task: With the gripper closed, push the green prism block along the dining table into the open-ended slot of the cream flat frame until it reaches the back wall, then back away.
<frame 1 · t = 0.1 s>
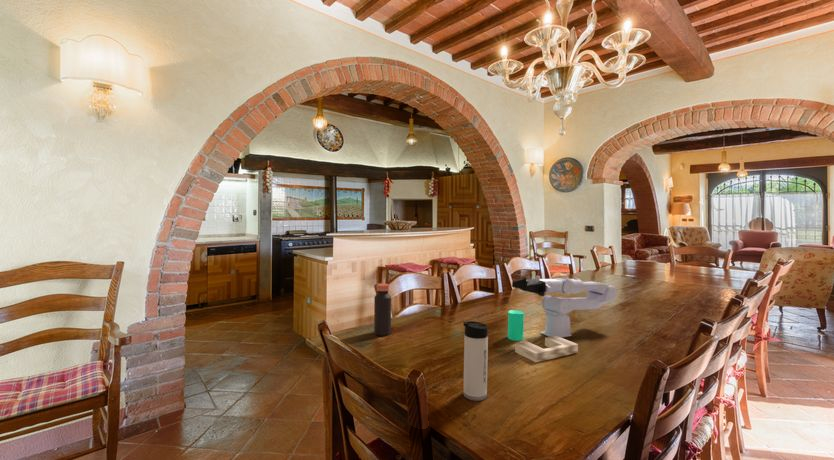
hand: (519, 286, 137), 22 cm above the table, tool horizontal, fingers open, 7 cm apart
green prism block: (515, 338, 142), on the table
bottle: (382, 333, 146), on the table
travel mug: (474, 395, 97), on the table
cream flat frame: (546, 352, 128), on the table
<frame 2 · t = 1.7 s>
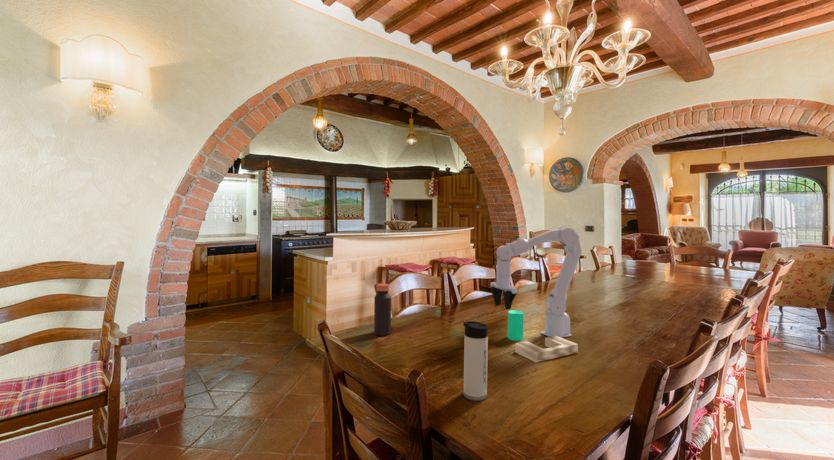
hand: (502, 307, 149), 10 cm above the table, tool pointing down, fingers open, 6 cm apart
nothing on the table moved.
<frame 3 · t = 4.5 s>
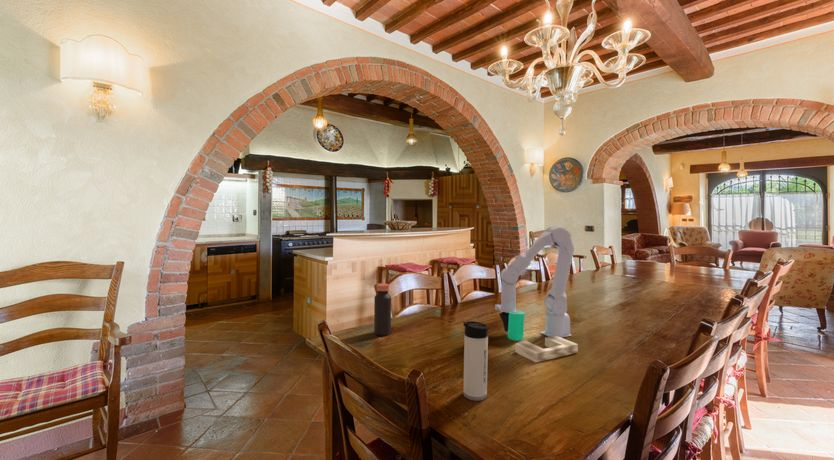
hand: (507, 330, 146), 1 cm above the table, tool pointing down, fingers closed
green prism block: (515, 338, 142), on the table, touching gripper
everything else where it was.
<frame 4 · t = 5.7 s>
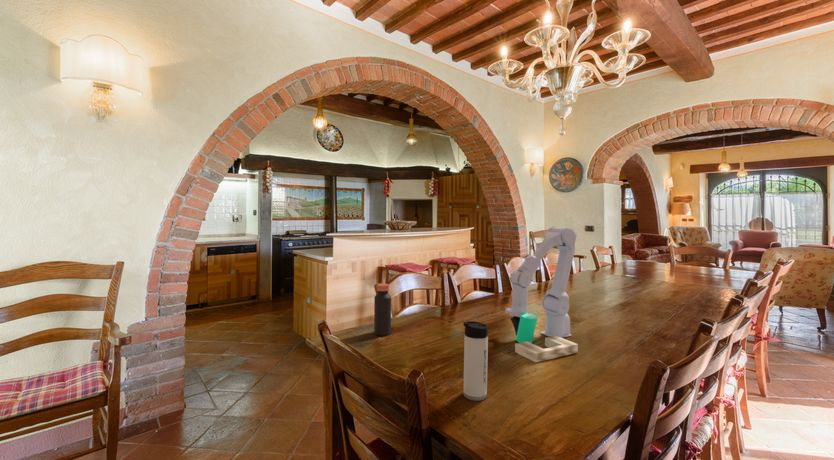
hand: (518, 335, 140), 1 cm above the table, tool pointing down, fingers closed
green prism block: (523, 341, 137), on the table, touching gripper
everything else where it was.
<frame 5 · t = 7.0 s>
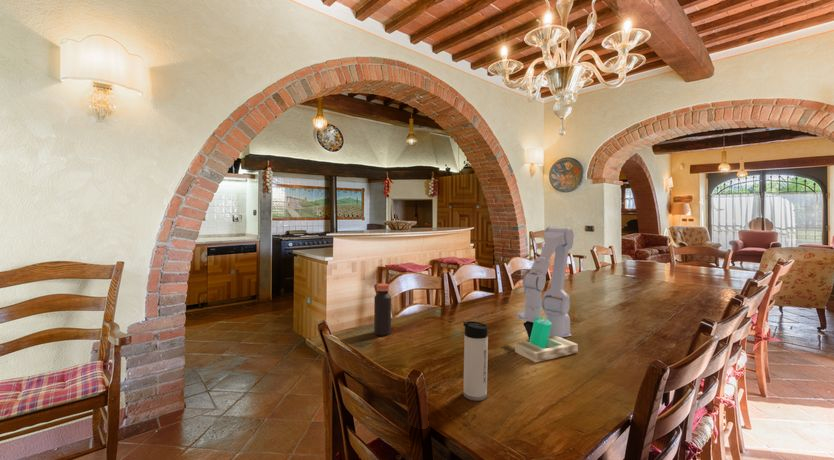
hand: (532, 341, 134), 1 cm above the table, tool pointing down, fingers closed, pressing on green prism block
green prism block: (536, 347, 131), on the table, touching gripper
everything else where it was.
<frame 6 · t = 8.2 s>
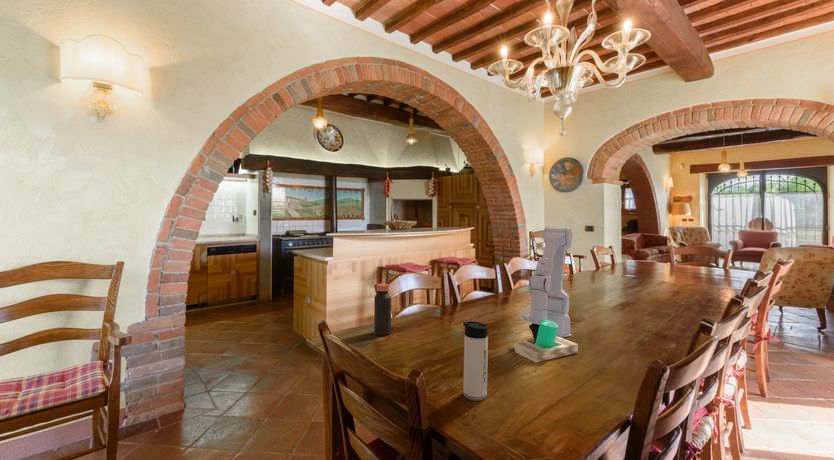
hand: (537, 344, 131), 1 cm above the table, tool pointing down, fingers closed
green prism block: (543, 350, 128), on the table, touching gripper
everything else where it was.
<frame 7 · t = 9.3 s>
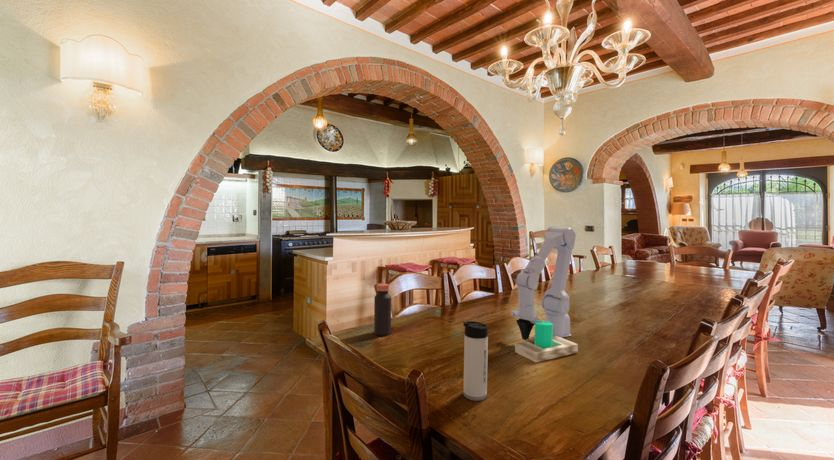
hand: (525, 338, 137), 1 cm above the table, tool pointing down, fingers closed
green prism block: (542, 352, 128), on the table
everything else where it was.
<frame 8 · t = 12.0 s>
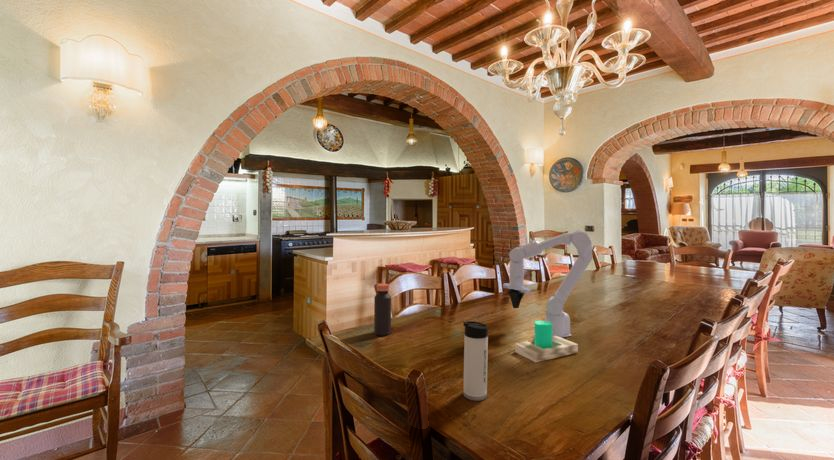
hand: (515, 307, 152), 9 cm above the table, tool pointing down, fingers closed
nothing on the table moved.
at the end: green prism block 0.7 cm off-centre on the cream flat frame, point 0.0 cm above the cream flat frame's base; green prism block tilted 0° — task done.
